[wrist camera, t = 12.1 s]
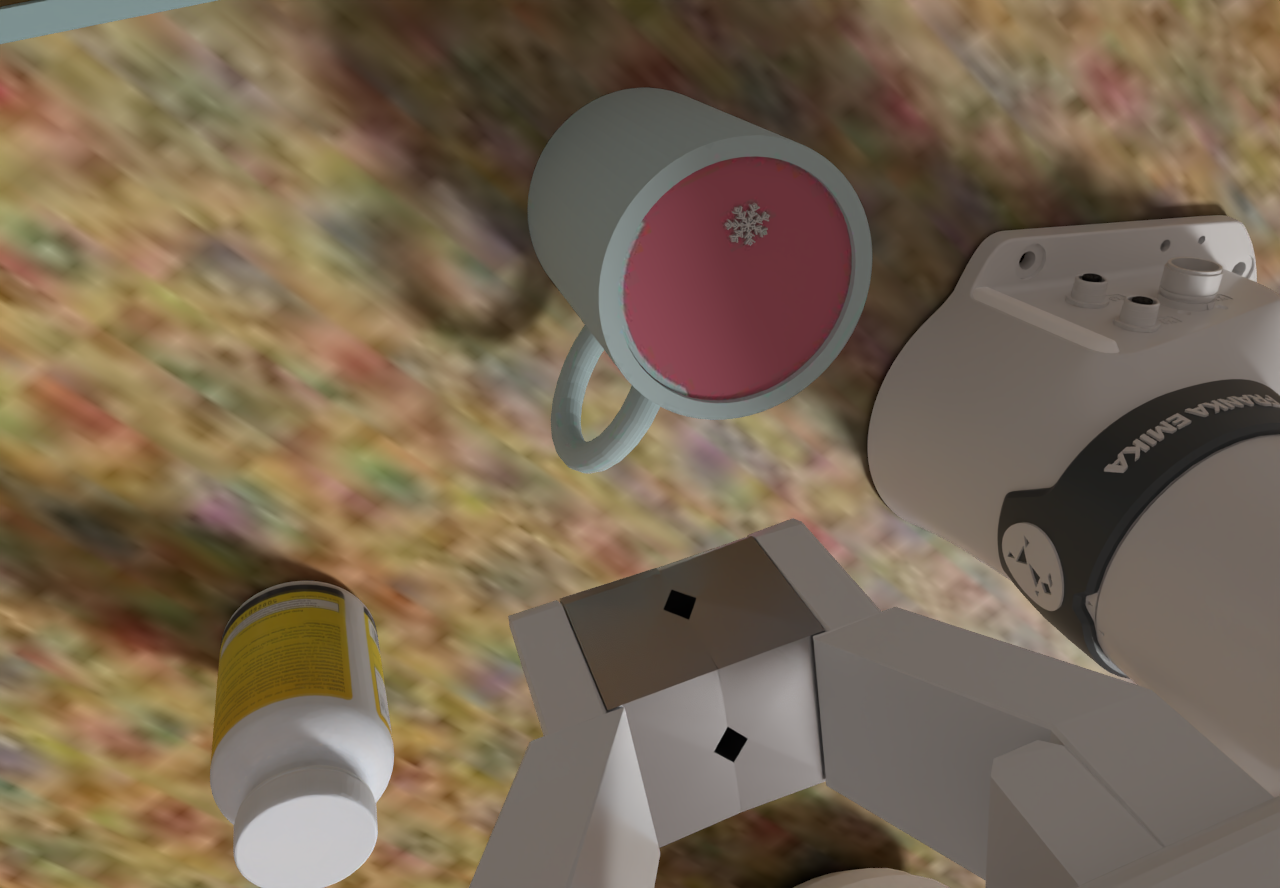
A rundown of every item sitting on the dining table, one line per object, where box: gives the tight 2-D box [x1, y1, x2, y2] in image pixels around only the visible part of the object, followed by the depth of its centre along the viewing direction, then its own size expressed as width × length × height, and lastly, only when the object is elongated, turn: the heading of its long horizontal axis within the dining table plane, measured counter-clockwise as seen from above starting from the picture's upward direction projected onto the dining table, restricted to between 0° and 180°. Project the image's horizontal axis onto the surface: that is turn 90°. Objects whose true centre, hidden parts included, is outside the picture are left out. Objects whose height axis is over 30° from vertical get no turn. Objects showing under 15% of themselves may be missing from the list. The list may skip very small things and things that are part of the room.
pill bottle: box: [210, 581, 394, 888], centre depth 37 cm, size 6×6×12 cm
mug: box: [528, 88, 872, 473], centre depth 35 cm, size 14×9×10 cm
